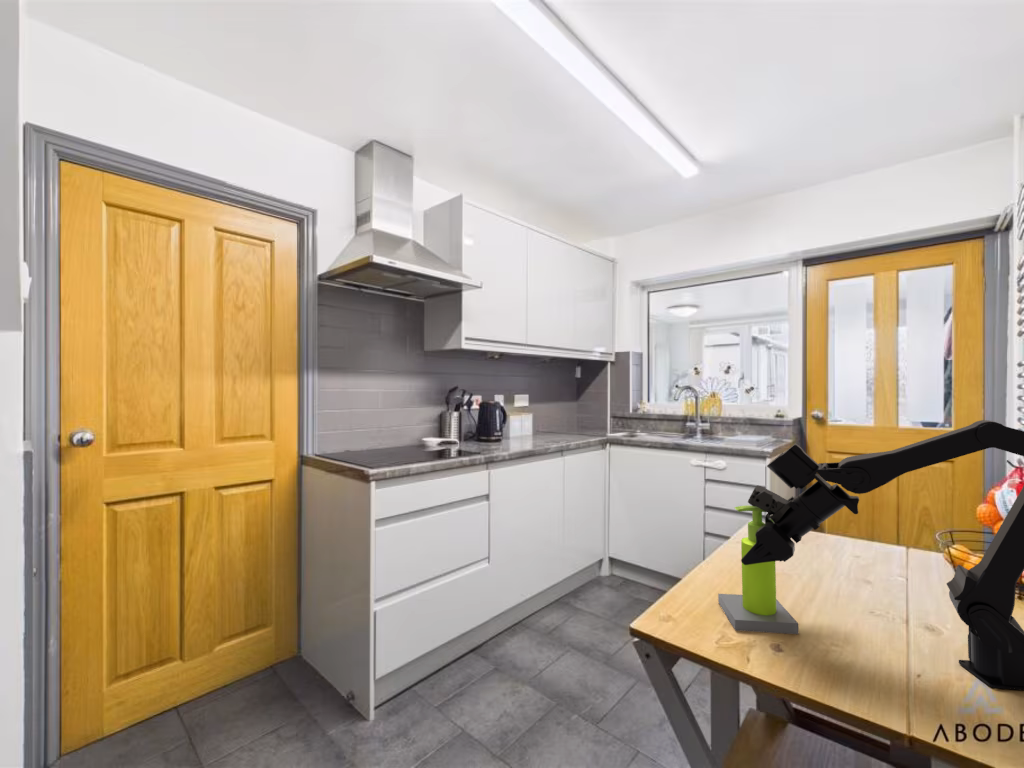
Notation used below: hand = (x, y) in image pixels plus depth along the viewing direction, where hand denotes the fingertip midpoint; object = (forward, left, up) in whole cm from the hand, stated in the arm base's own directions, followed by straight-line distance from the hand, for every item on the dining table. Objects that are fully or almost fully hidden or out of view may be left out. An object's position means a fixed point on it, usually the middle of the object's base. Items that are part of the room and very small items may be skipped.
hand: (747, 555), depth 92 cm
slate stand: (-1, -1, -12) cm, 12 cm away
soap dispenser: (-1, -1, -10) cm, 10 cm away
